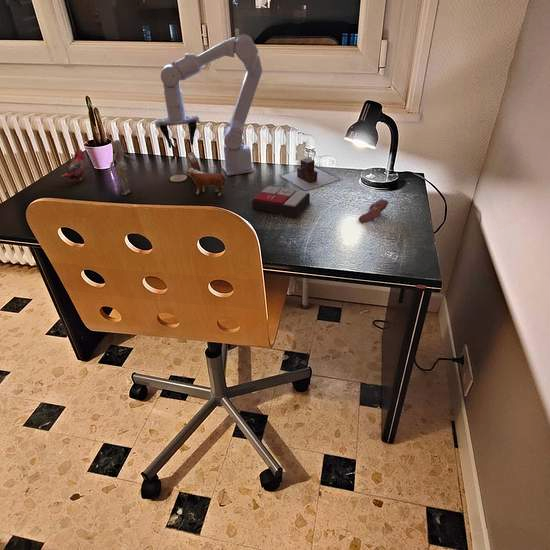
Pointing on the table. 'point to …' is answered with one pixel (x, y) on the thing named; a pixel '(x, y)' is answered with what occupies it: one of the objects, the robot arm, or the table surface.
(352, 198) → the table surface
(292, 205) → the red and grey box
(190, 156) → the tin
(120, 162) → the human figurine
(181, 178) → the cork coaster
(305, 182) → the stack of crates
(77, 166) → the decorative bird figurine
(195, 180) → the bull figurine
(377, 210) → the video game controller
